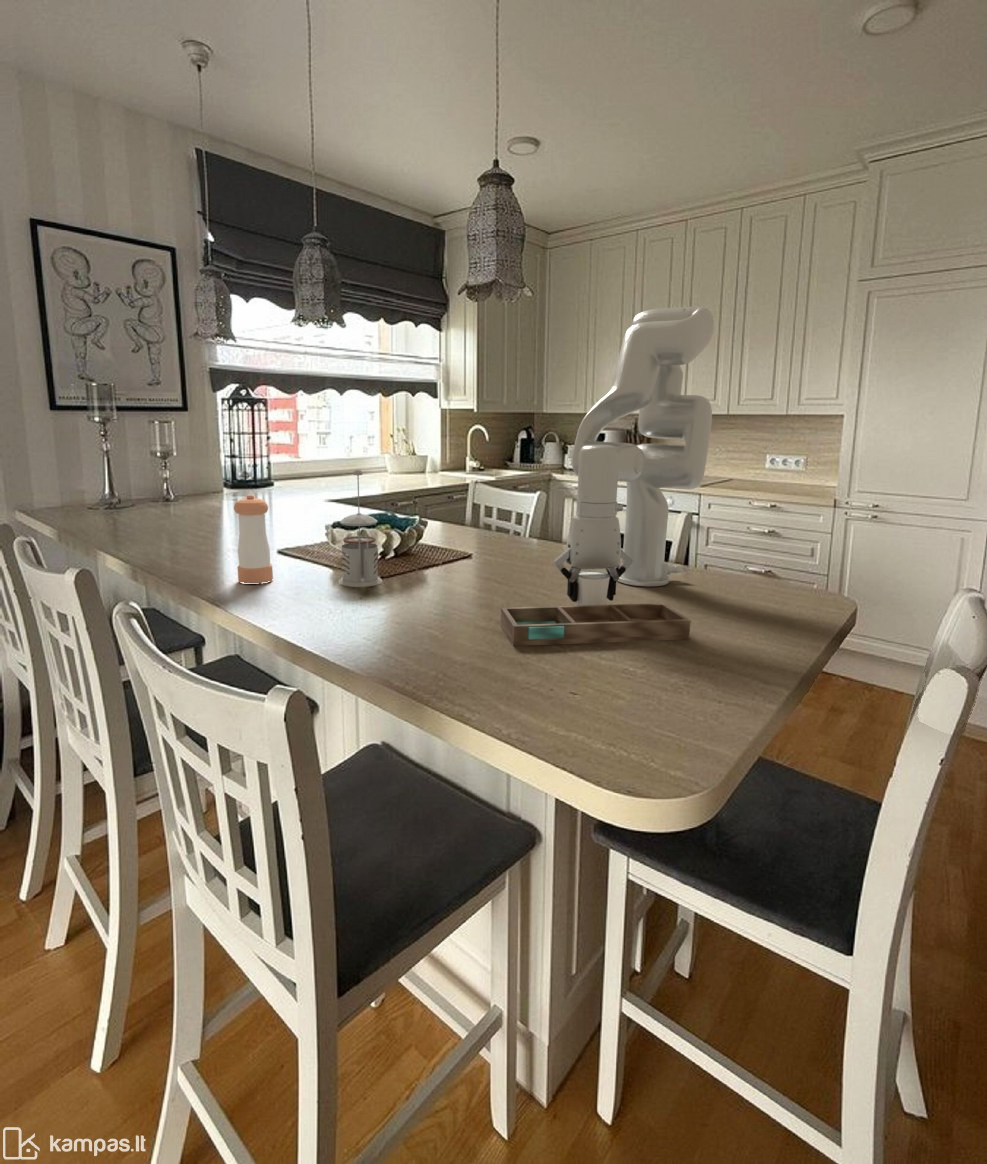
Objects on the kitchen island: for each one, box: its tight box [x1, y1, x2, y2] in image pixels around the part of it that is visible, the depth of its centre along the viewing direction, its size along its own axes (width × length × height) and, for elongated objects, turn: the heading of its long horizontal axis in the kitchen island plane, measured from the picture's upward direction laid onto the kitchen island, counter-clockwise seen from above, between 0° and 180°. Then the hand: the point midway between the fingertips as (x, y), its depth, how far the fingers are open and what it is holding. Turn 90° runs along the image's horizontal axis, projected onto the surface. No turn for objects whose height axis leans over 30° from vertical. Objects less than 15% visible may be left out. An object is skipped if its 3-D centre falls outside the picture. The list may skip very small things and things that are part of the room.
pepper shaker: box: [233, 494, 274, 583], centre depth 147 cm, size 7×7×19 cm
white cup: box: [575, 570, 610, 606], centre depth 133 cm, size 7×7×7 cm
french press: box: [338, 469, 383, 588], centre depth 148 cm, size 10×12×25 cm
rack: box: [500, 602, 691, 647], centre depth 119 cm, size 31×12×3 cm, turn 100°
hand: (591, 598), depth 134 cm, fingers closed on white cup, 6 cm apart
